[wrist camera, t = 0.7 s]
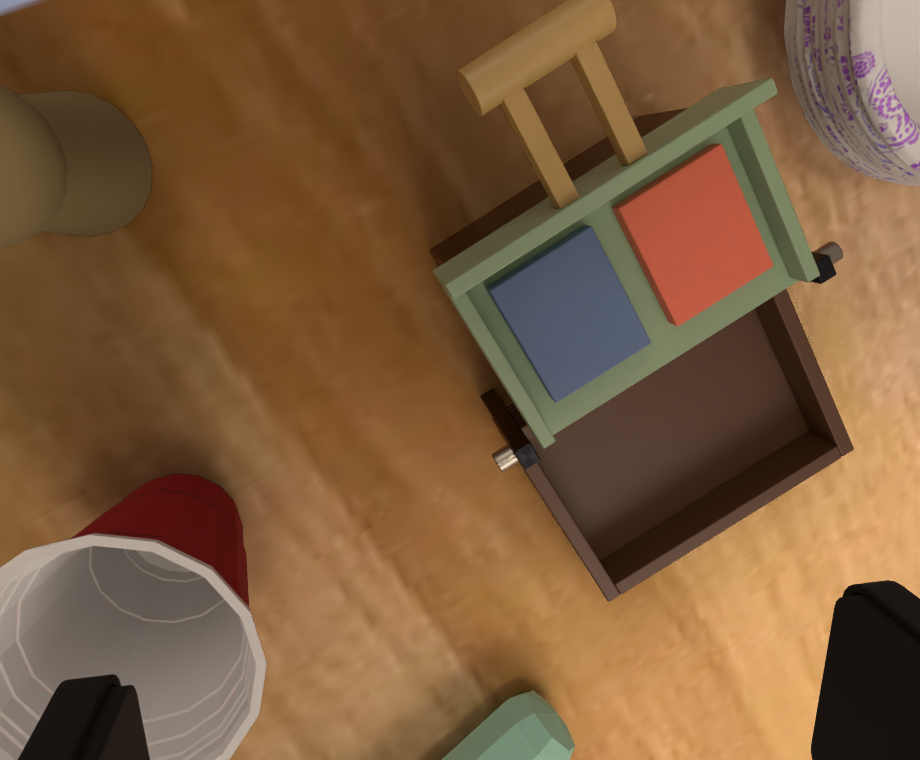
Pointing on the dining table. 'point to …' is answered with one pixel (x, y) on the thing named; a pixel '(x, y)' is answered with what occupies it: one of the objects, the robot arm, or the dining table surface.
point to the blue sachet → (569, 313)
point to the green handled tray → (610, 205)
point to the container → (518, 733)
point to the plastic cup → (139, 620)
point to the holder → (690, 448)
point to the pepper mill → (68, 166)
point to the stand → (521, 203)
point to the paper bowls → (860, 81)
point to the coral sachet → (693, 234)
